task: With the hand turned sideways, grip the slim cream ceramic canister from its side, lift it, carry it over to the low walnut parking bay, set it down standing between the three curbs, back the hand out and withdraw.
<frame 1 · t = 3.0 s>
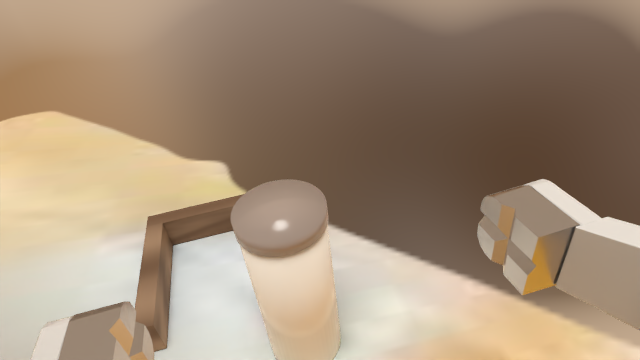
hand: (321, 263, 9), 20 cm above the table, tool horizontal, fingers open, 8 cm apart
bay: (226, 268, 36), on the table
canister: (306, 339, 30), on the table
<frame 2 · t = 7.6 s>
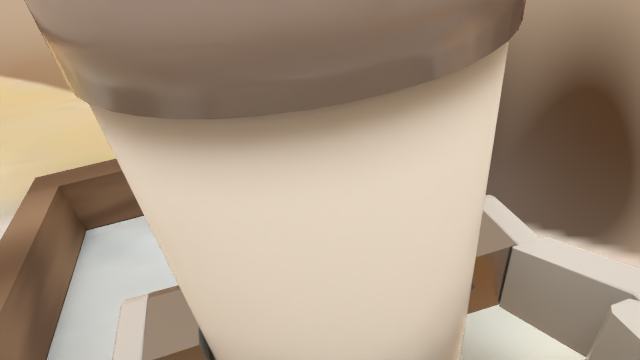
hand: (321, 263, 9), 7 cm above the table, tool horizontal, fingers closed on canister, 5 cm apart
bay: (177, 268, 19), on the table
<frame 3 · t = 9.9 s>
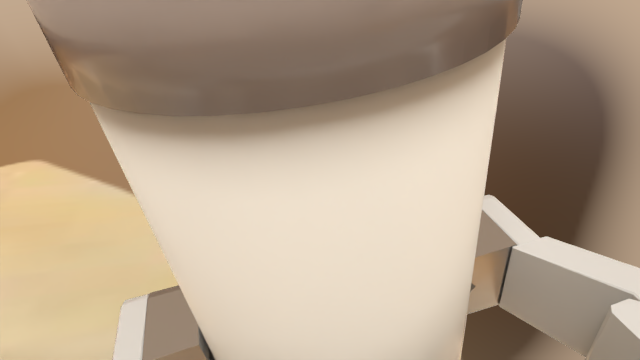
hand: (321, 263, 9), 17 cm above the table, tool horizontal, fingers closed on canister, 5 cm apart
when the fingers open (8 cm above the table, at t = 12.0 s): canister drops 1 cm, on the table.
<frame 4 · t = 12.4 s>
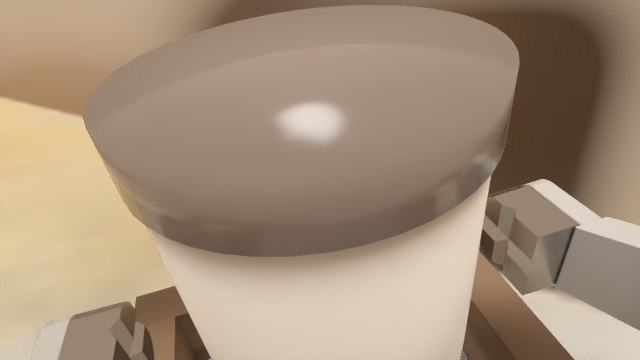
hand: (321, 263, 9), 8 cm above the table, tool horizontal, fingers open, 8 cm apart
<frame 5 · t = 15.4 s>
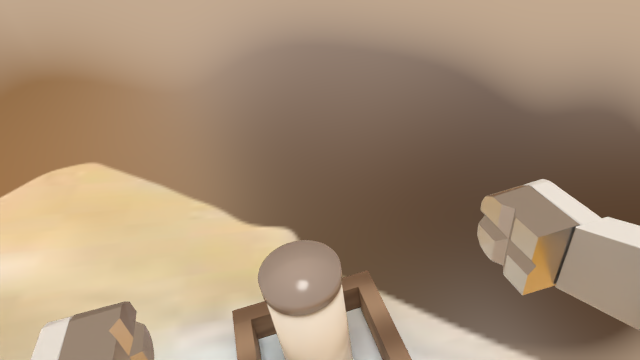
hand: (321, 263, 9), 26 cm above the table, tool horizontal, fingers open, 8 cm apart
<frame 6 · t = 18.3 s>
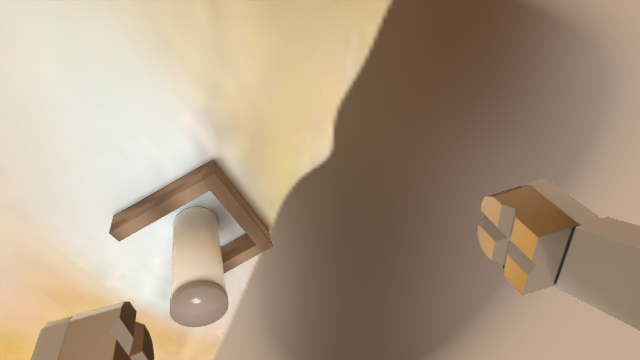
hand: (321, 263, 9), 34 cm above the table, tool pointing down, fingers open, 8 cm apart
bay: (196, 224, 49), on the table
canister: (195, 224, 49), on the table
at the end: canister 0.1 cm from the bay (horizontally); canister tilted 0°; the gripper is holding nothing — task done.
